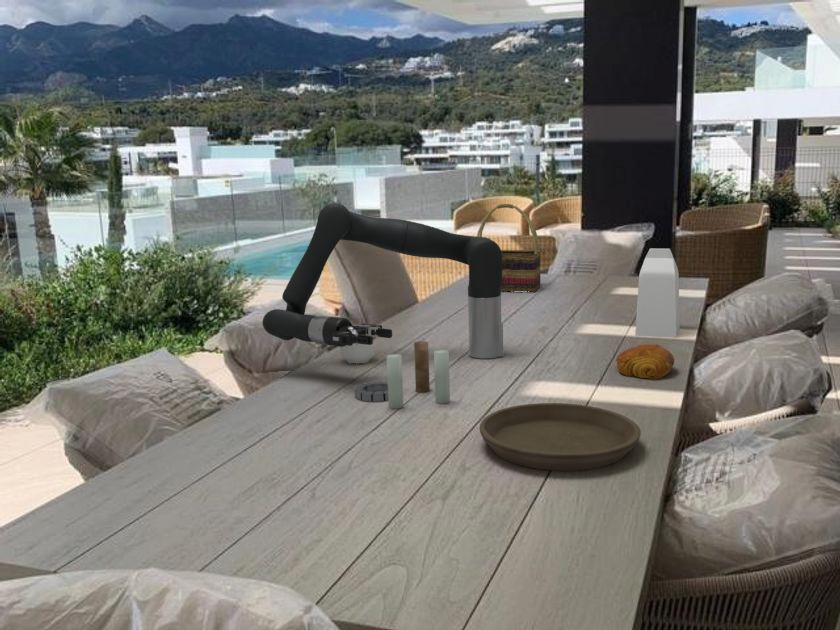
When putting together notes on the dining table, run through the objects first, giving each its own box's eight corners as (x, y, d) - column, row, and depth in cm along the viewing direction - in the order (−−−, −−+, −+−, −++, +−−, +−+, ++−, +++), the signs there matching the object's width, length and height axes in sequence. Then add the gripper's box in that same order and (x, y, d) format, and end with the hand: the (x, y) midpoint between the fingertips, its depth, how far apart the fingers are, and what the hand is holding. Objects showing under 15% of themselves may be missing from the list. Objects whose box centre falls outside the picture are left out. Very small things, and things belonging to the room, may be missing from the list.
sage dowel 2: (449, 399, 198) (447, 349, 196) (450, 403, 195) (449, 353, 193) (434, 399, 198) (433, 350, 196) (436, 404, 195) (434, 353, 193)
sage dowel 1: (403, 404, 196) (401, 354, 194) (403, 408, 193) (401, 357, 190) (388, 404, 196) (386, 354, 193) (388, 409, 192) (386, 358, 190)
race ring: (399, 387, 209) (399, 380, 209) (401, 400, 199) (401, 393, 198) (355, 389, 209) (355, 382, 208) (355, 402, 198) (354, 395, 198)
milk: (635, 335, 256) (636, 250, 251) (640, 327, 267) (642, 246, 262) (676, 337, 252) (678, 251, 247) (679, 329, 262) (682, 246, 257)
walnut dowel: (429, 388, 208) (427, 340, 206) (430, 392, 205) (428, 344, 202) (415, 388, 208) (413, 341, 205) (416, 392, 204) (414, 344, 202)
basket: (471, 291, 343) (469, 205, 336) (480, 285, 357) (478, 202, 350) (535, 293, 335) (535, 204, 328) (542, 287, 348) (541, 202, 342)
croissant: (677, 375, 220) (679, 345, 220) (668, 382, 206) (670, 350, 206) (621, 369, 226) (624, 339, 226) (609, 376, 212) (611, 344, 212)
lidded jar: (372, 366, 230) (370, 333, 229) (334, 365, 233) (332, 332, 231) (381, 357, 241) (380, 324, 239) (345, 356, 243) (344, 324, 241)
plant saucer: (646, 428, 175) (646, 406, 174) (632, 485, 146) (632, 460, 145) (500, 417, 185) (500, 397, 184) (460, 468, 156) (460, 445, 155)
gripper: (312, 321, 211) (365, 327, 203) (346, 311, 223) (397, 317, 215) (313, 350, 213) (365, 357, 204) (346, 339, 225) (397, 346, 216)
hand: (381, 337), depth 210 cm, fingers open, 8 cm apart
